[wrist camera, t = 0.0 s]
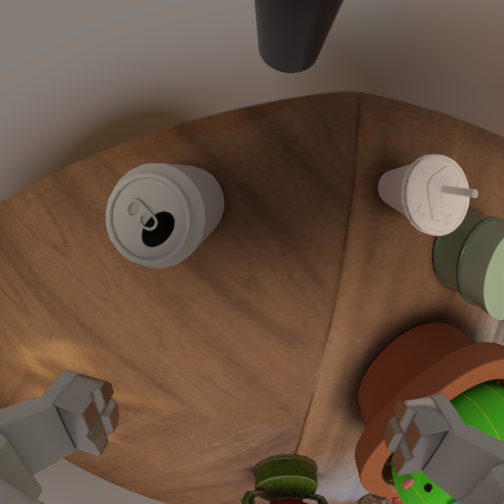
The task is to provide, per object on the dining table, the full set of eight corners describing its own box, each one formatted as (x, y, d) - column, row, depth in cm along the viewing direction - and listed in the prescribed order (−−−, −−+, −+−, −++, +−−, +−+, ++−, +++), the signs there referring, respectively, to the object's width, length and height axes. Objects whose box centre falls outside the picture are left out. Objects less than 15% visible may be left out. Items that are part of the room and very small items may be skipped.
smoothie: (423, 167, 28) (510, 171, 14) (411, 224, 30) (491, 259, 16) (372, 150, 28) (445, 137, 14) (359, 210, 30) (424, 238, 16)
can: (190, 253, 31) (149, 297, 20) (141, 202, 30) (78, 220, 19) (241, 203, 30) (225, 221, 18) (189, 150, 29) (143, 138, 17)
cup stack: (438, 204, 29) (493, 219, 19) (495, 214, 28) (548, 230, 19) (424, 288, 31) (469, 325, 22) (481, 288, 31) (527, 319, 21)
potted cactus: (498, 338, 33) (592, 434, 8) (410, 440, 38) (455, 554, 14) (414, 274, 31) (568, 413, 7) (309, 408, 36) (329, 579, 12)
